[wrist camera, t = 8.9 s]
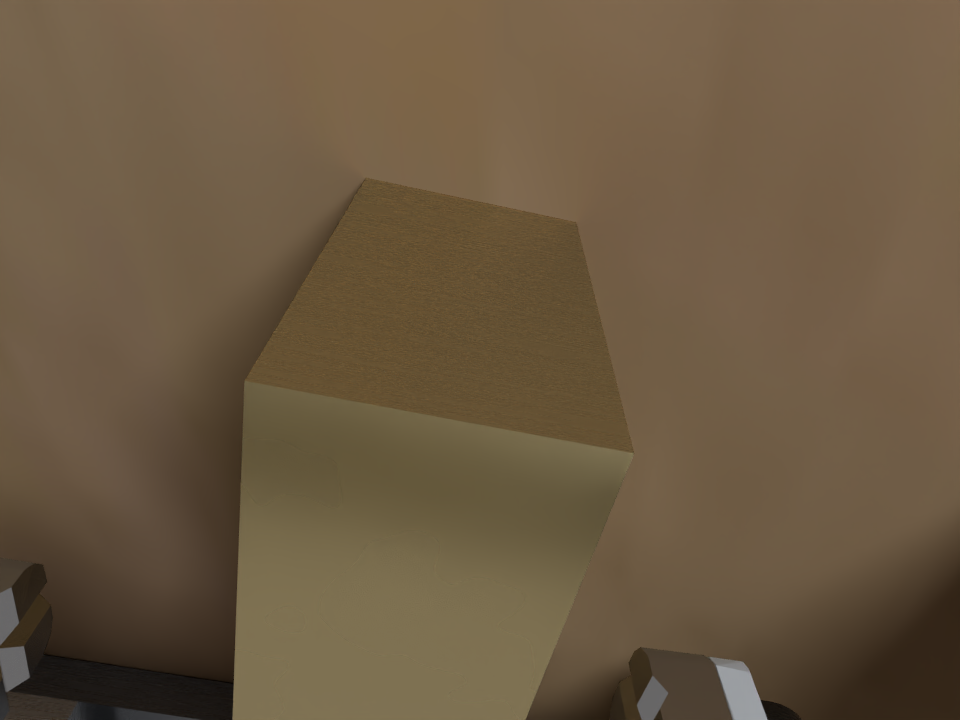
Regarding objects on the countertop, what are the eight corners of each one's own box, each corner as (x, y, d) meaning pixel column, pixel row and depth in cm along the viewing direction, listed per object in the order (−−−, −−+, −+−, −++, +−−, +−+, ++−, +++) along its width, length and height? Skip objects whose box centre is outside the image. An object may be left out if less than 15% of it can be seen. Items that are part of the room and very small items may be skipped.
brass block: (576, 221, 13) (634, 454, 7) (488, 523, 17) (478, 833, 11) (366, 177, 13) (244, 380, 7) (327, 495, 17) (229, 799, 11)
